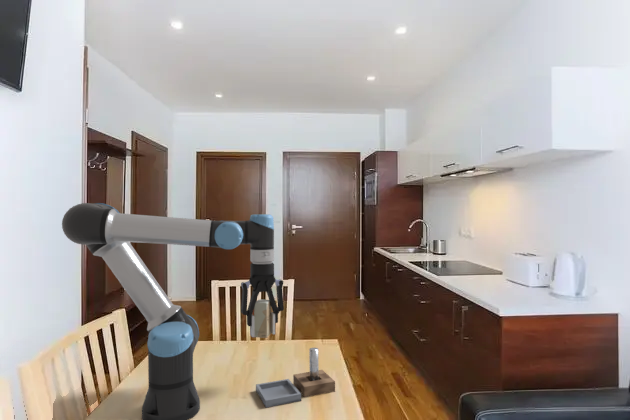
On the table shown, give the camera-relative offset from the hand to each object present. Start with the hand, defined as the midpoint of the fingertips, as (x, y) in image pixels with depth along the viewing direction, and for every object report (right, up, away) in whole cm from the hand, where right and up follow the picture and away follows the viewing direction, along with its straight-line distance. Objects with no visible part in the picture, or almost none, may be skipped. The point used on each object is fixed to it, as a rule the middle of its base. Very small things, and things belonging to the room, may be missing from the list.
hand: (262, 334), depth 131 cm
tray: (+6, -16, -8) cm, 19 cm away
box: (0, -1, 0) cm, 1 cm away
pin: (+16, -16, -3) cm, 23 cm away
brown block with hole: (+16, -16, -3) cm, 23 cm away
